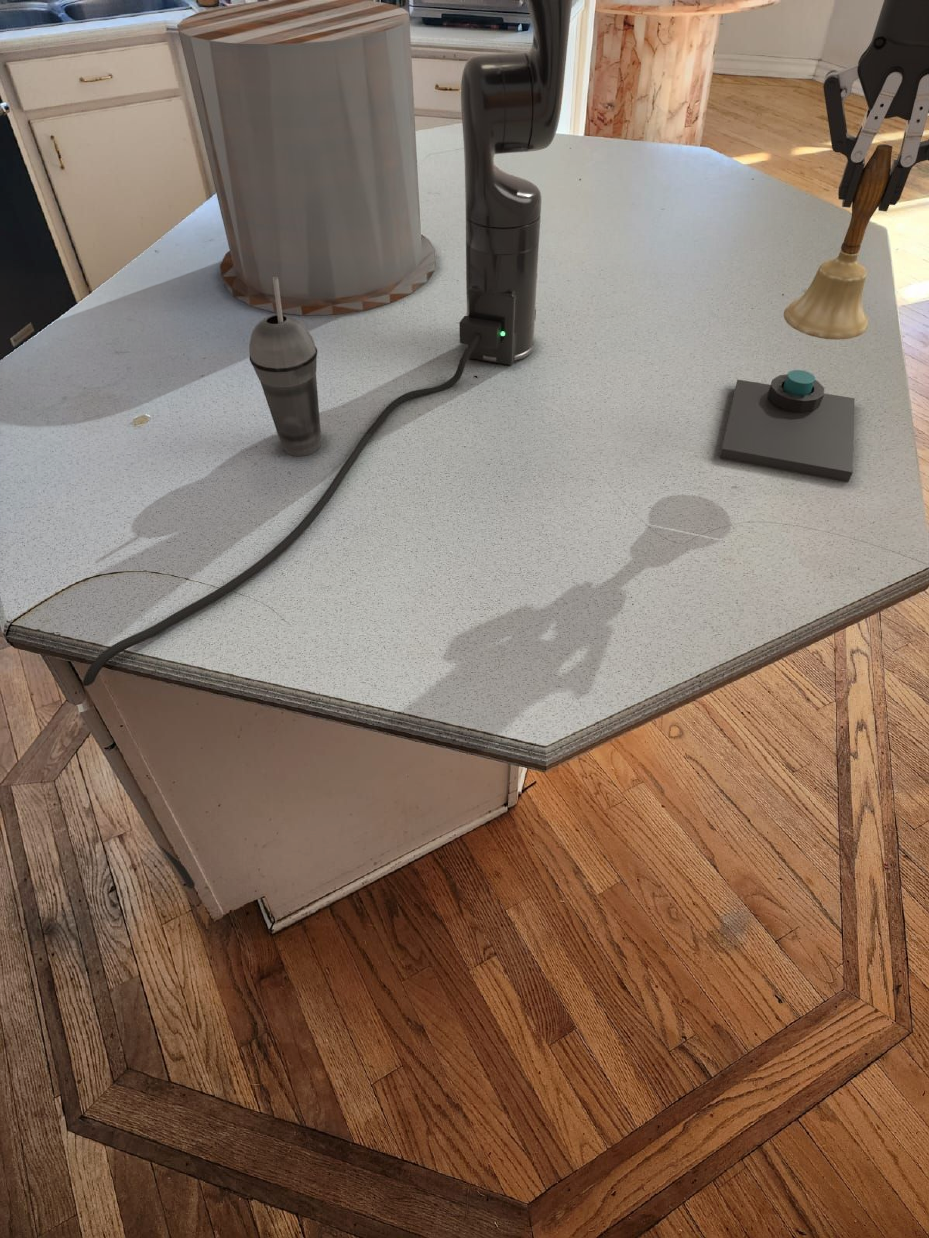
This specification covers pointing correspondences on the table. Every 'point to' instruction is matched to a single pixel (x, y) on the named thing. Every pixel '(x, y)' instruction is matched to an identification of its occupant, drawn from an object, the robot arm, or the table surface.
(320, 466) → the table surface
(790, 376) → the button
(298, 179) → the storage basket
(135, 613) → the table surface
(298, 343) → the beverage cup
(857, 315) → the hand bell
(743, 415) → the scale
